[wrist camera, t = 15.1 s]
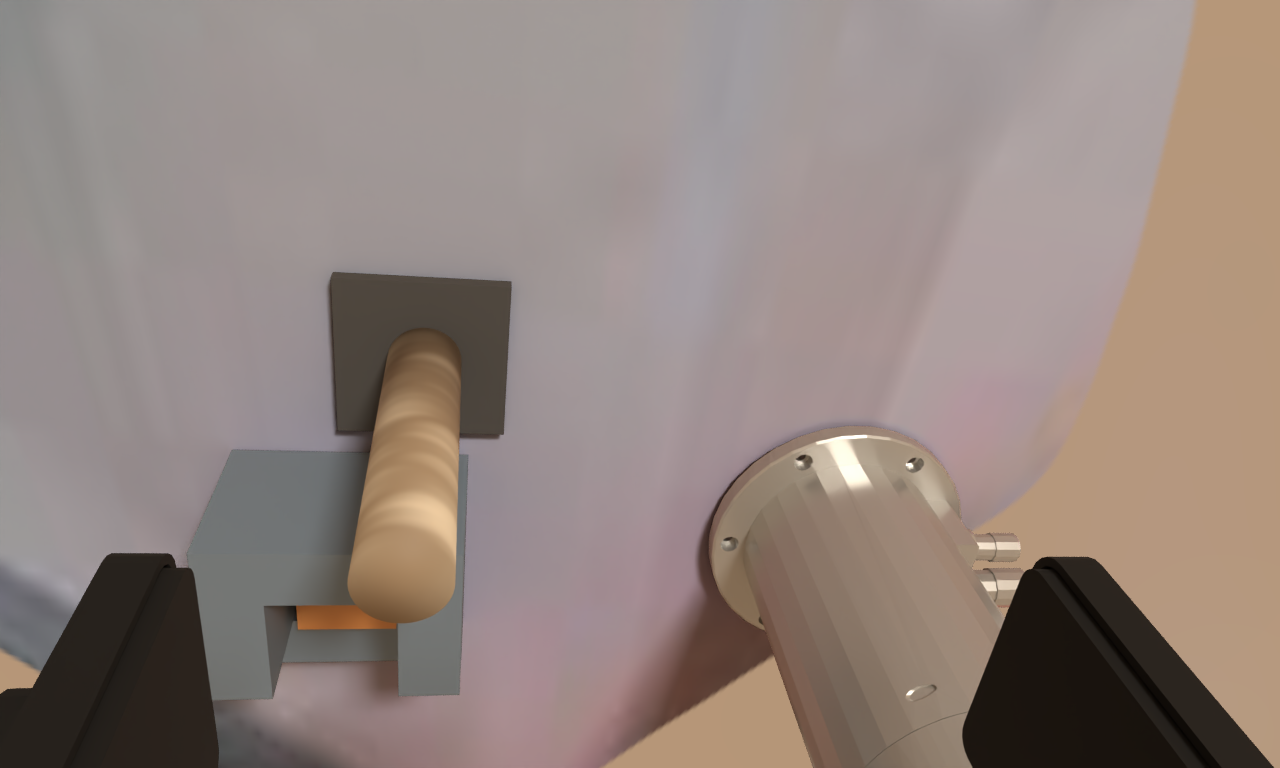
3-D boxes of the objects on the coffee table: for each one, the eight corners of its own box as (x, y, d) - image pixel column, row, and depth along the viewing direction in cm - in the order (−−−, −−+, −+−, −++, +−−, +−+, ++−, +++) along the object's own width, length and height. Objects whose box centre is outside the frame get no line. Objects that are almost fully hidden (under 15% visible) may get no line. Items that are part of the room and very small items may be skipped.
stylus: (462, 329, 39) (456, 541, 27) (460, 393, 40) (454, 622, 28) (387, 326, 38) (345, 541, 26) (387, 391, 40) (348, 624, 27)
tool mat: (511, 281, 39) (511, 287, 38) (503, 427, 42) (503, 434, 41) (333, 272, 37) (330, 278, 37) (339, 422, 41) (337, 430, 40)
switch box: (468, 454, 42) (463, 555, 36) (462, 622, 47) (458, 736, 41) (232, 449, 41) (186, 553, 35) (251, 624, 45) (213, 743, 39)
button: (400, 519, 42) (395, 554, 40) (400, 590, 44) (396, 628, 42) (302, 517, 42) (292, 554, 40) (307, 591, 44) (297, 629, 42)
